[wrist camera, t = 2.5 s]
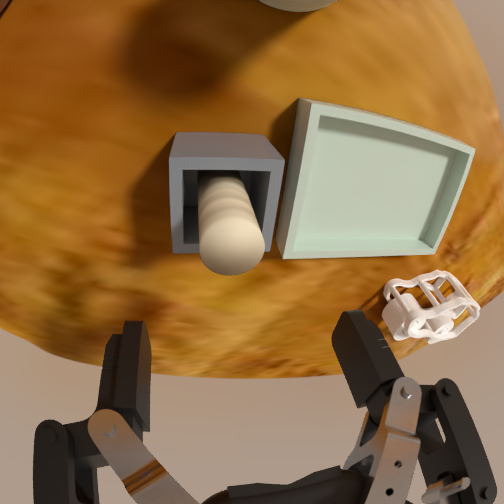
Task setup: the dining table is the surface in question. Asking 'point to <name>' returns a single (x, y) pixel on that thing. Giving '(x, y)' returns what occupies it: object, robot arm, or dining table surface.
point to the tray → (367, 184)
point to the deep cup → (222, 158)
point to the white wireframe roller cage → (427, 309)
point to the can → (298, 4)
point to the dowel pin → (227, 224)
